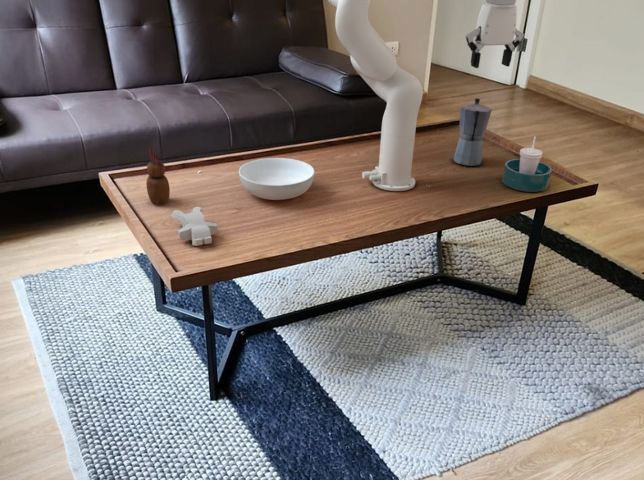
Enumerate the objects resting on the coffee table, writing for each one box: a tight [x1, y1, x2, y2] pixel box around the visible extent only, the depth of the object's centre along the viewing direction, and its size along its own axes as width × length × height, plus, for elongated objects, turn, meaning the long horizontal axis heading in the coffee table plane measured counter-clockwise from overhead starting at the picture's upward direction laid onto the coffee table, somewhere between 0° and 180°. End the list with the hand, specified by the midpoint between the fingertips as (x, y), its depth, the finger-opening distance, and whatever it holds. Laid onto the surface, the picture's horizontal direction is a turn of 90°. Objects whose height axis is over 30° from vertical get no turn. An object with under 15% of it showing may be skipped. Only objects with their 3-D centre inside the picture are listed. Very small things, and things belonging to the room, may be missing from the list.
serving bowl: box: [238, 157, 316, 201], centre depth 178 cm, size 21×21×7 cm
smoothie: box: [519, 135, 544, 175], centre depth 187 cm, size 6×6×14 cm
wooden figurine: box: [146, 145, 171, 206], centre depth 169 cm, size 7×6×15 cm
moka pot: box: [453, 98, 493, 167], centre depth 200 cm, size 10×15×20 cm, turn 174°
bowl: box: [501, 158, 553, 193], centre depth 190 cm, size 13×13×6 cm
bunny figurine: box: [171, 206, 219, 247], centre depth 156 cm, size 10×5×15 cm
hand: (490, 66), depth 179 cm, fingers open, 9 cm apart
